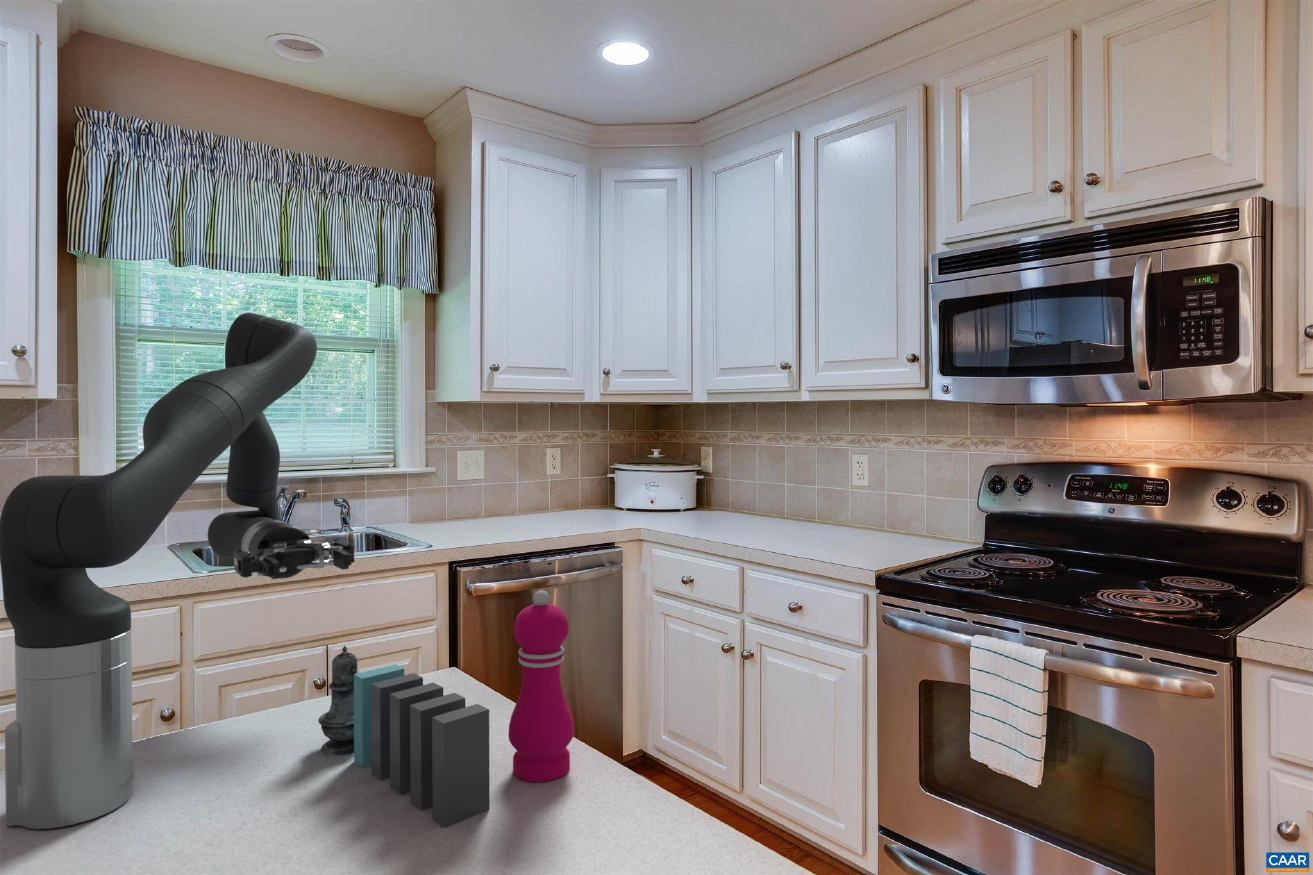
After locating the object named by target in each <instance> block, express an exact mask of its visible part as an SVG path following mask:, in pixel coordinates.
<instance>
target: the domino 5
mask: <svg viewBox="0 0 1313 875" xmlns="http://www.w3.org/2000/svg"><path fill="white" fill-rule="evenodd" d="M432 789H433V807H432V820H433V822H435V823H437V824H438V825H439V826H440V827H442V828H443V829H445V828H447V827H450V826H452V825H455V824H458V823H461V822H462V821H464V820H467V819H469V818H471V817H474V816H476V815H479V814H481V813H484V812H486V811H489V810H490V809H491V808H490V803H491V802H490V709H489V708H487V707H485V706H483V705H481V704H480V703H475V704H473V705H472V704H471V705H468V706H465V708H461V709H458V710H455V711H451V712H448V713H445V714H441V715H438V716H435V717H432Z"/></svg>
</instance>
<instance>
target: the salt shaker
mask: <svg viewBox="0 0 1313 875" xmlns="http://www.w3.org/2000/svg"><path fill="white" fill-rule="evenodd" d="M341 651H342V652H340V653H339V654H337V655H336V656H335V657H333V659H332V662H331V683H330V684H329V685H328V689H329V690H331V695H330V696H331V703H330V708H329V710H328V711H326V712H325V713H323V714H321V715H320V716H319V717H318V719H317V721H318V724H319V725H320V727H321V731H322V733H323V735H324V736H325V737H326V738H327V739H328V740H327V741H326V742H325V743H324V744H322V745H321V748H320V750H321V753H322V754H325V755H328V756H329V755H330V756H344V755H345V756H346V755H350V754H354V674H356V673H358V657H357V656H356V655H355V654H353V653H352V652H349V651H348V647H347V646H346V645H344V646H343V647H342V649H341Z"/></svg>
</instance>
